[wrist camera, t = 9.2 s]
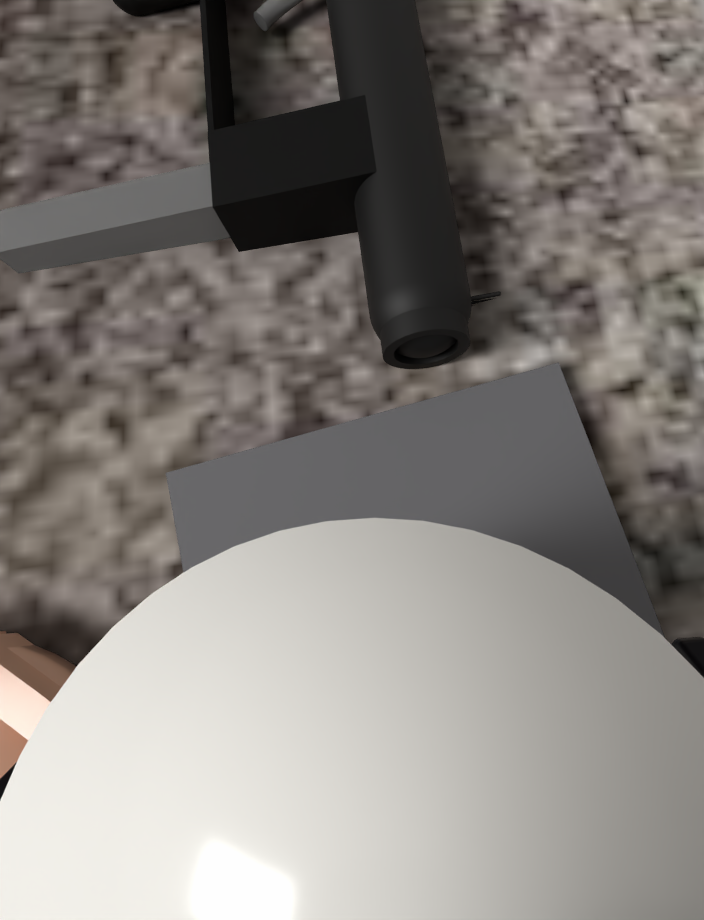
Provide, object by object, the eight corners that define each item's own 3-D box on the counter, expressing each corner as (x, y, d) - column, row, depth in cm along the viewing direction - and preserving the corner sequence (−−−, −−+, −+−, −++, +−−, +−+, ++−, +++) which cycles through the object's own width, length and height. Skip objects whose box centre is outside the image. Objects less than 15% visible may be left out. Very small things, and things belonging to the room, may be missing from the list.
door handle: (-37, 412, 17) (525, 311, 15) (-7, -82, 22) (414, -206, 20) (40, 442, 20) (511, 362, 18) (50, 4, 25) (418, -96, 23)
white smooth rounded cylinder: (526, 887, 14) (888, 1774, 3) (251, 831, 15) (-155, 1391, 4) (544, 596, 16) (831, 571, 5) (295, 562, 16) (78, 477, 6)
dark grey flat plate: (791, 993, 13) (809, 1011, 13) (290, 1114, 14) (284, 1136, 13) (553, 370, 18) (558, 362, 17) (173, 477, 18) (165, 473, 17)
